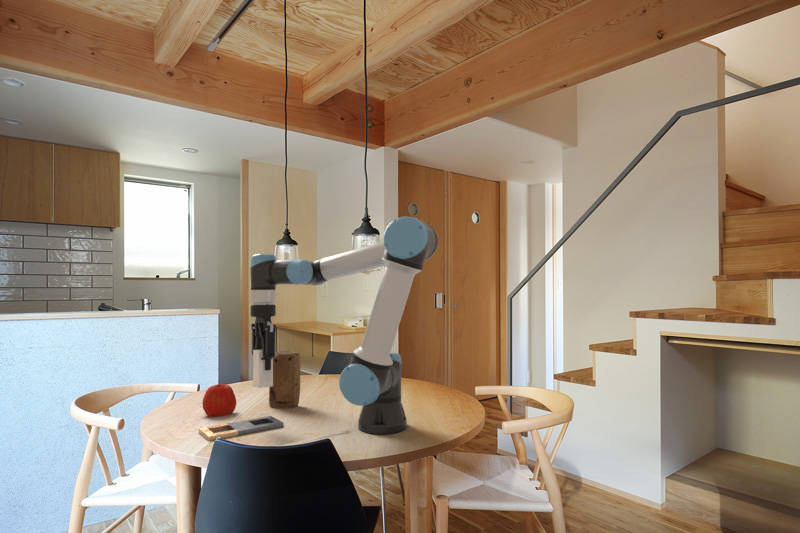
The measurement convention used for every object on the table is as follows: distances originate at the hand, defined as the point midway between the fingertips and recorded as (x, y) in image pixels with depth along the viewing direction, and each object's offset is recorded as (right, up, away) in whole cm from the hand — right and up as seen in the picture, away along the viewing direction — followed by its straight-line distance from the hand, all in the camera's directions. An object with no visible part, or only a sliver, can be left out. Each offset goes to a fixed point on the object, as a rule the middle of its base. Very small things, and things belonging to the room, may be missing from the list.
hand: (263, 379), depth 144 cm
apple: (-19, -16, +15) cm, 29 cm away
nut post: (0, -2, 0) cm, 2 cm away
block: (0, -16, +25) cm, 30 cm away
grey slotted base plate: (-5, -15, -4) cm, 16 cm away
